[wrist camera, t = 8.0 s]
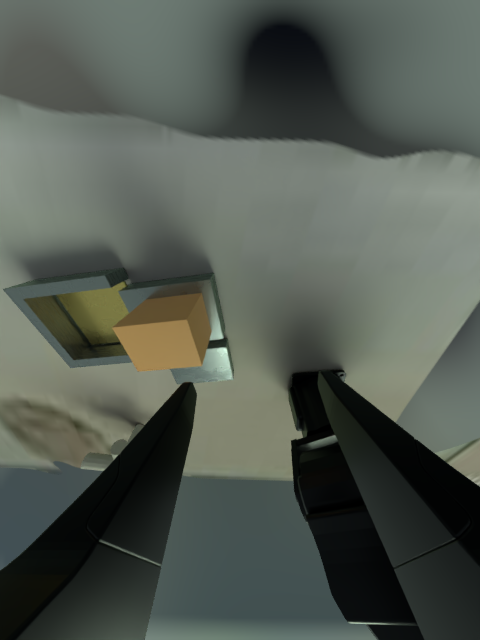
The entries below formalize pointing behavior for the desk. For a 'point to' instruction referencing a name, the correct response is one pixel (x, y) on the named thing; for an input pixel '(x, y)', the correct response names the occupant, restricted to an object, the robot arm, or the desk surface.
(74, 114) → the desk surface
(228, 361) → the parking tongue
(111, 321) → the sliding lid box
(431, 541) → the robot arm
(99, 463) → the pipe connector
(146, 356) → the block
